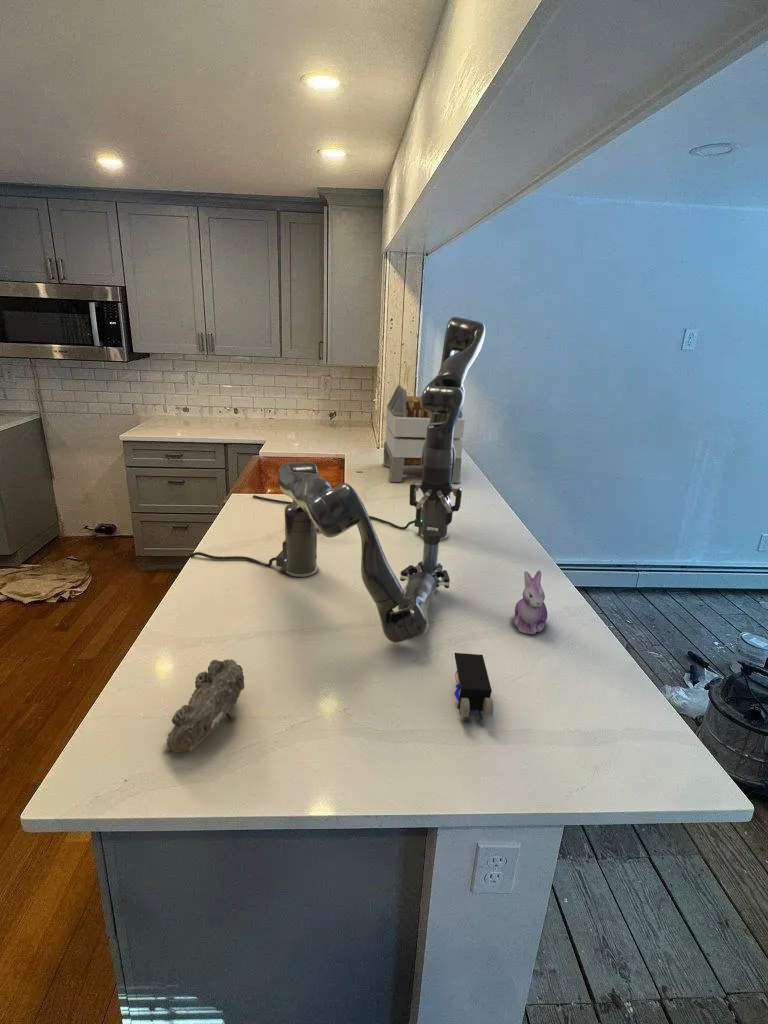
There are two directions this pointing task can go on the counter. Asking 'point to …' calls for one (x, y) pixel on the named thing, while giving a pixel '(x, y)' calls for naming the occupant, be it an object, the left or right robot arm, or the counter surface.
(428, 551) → the grey cylinder
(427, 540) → the lid
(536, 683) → the counter surface
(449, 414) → the right robot arm
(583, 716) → the counter surface
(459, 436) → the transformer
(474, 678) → the black toy cart
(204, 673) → the fossil
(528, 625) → the figurine
